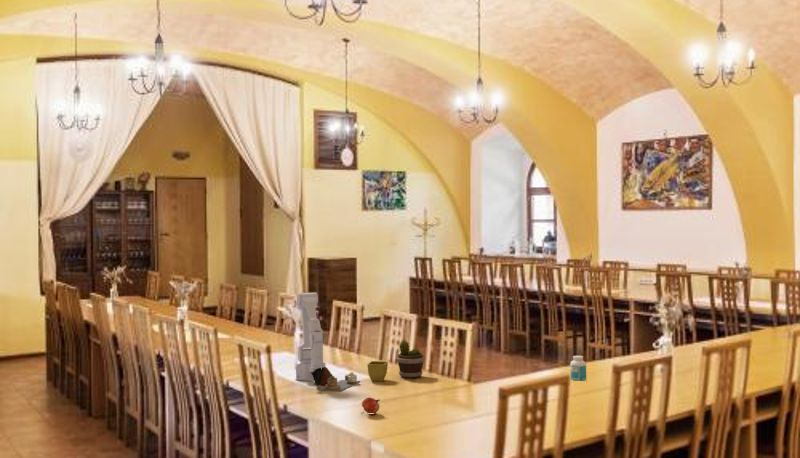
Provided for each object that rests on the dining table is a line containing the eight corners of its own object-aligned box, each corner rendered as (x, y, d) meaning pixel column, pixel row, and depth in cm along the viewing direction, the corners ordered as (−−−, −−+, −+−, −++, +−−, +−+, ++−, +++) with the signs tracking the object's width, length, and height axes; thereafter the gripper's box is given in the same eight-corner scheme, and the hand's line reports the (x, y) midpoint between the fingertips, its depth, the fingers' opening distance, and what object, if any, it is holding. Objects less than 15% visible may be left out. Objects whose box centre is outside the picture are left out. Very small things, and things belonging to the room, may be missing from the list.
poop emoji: (318, 386, 387) (318, 367, 386) (312, 383, 394) (311, 364, 394) (337, 384, 391) (337, 365, 391) (330, 381, 399) (330, 363, 399)
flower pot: (384, 382, 394) (384, 364, 394) (367, 382, 396) (367, 364, 396) (388, 379, 403) (388, 361, 403) (371, 378, 405) (371, 361, 405)
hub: (345, 383, 392) (345, 373, 392) (349, 381, 396) (349, 371, 396) (354, 383, 391) (354, 373, 390) (357, 381, 395) (357, 371, 395)
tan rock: (322, 388, 379) (322, 377, 379) (328, 385, 386) (328, 374, 386) (336, 389, 377) (336, 378, 377) (342, 386, 384) (342, 375, 384)
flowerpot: (429, 375, 411) (429, 336, 411) (417, 381, 397) (417, 340, 397) (404, 373, 418) (403, 335, 417) (391, 378, 404) (391, 339, 403)
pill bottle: (585, 382, 388) (585, 355, 388) (587, 385, 381) (587, 357, 381) (569, 382, 389) (569, 355, 389) (571, 385, 382) (571, 357, 382)
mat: (321, 390, 378) (321, 389, 378) (341, 380, 401) (341, 379, 401) (340, 391, 375) (340, 390, 375) (360, 381, 397) (360, 380, 397)
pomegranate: (361, 422, 327) (379, 408, 324) (352, 406, 329) (370, 393, 326) (369, 419, 334) (387, 406, 331) (360, 404, 336) (378, 391, 333)
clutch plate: (343, 379, 394) (343, 375, 394) (352, 378, 397) (352, 373, 397) (349, 381, 389) (349, 376, 389) (359, 379, 393) (358, 375, 393)
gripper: (318, 359, 379) (318, 387, 379) (330, 354, 392) (331, 381, 392) (304, 358, 381) (305, 386, 381) (317, 353, 395) (318, 380, 395)
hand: (317, 384), depth 387 cm, fingers closed
